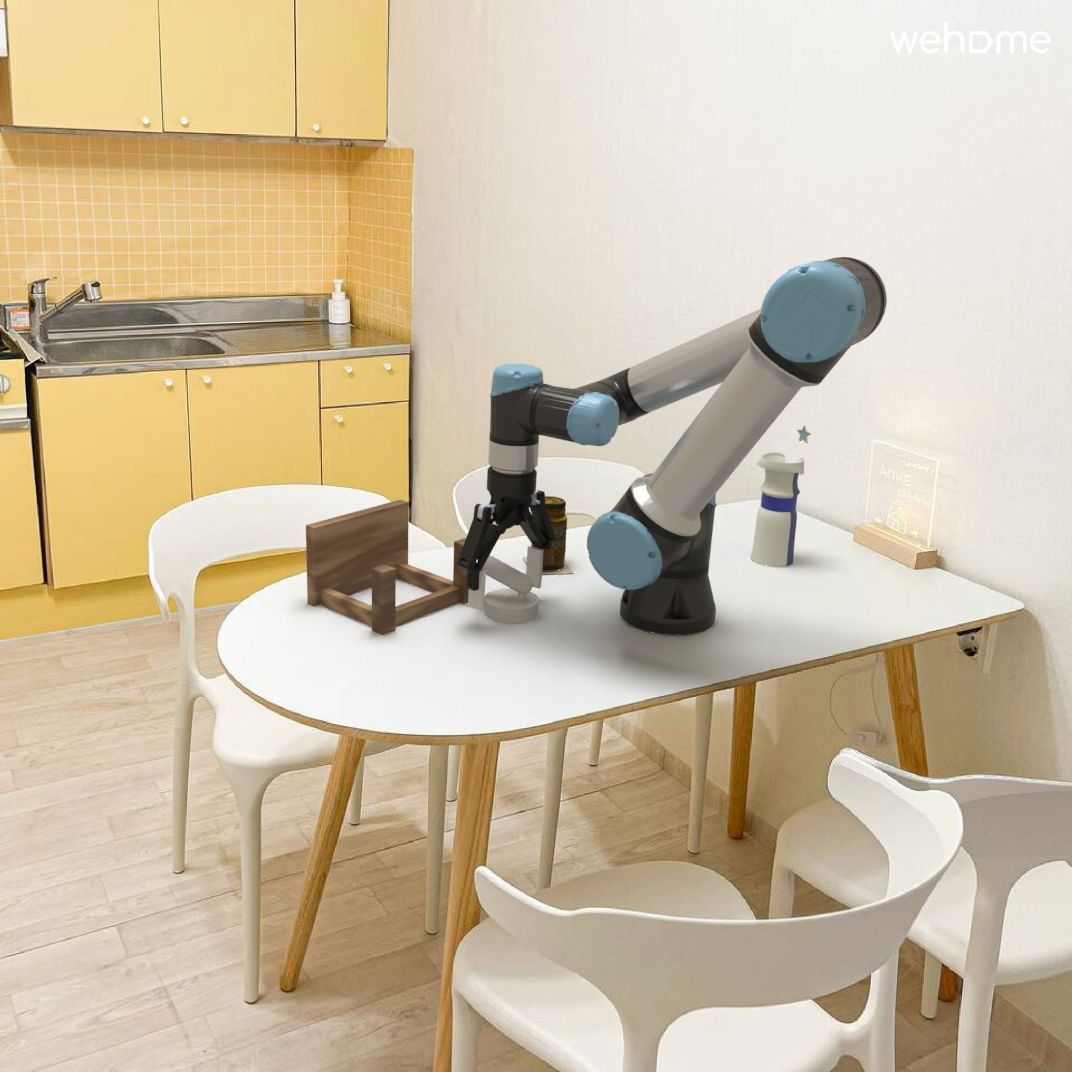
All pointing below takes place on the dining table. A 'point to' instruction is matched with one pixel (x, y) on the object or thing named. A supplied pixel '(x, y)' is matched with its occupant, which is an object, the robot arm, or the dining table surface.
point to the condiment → (556, 538)
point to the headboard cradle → (374, 568)
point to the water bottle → (777, 509)
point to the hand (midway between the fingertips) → (505, 596)
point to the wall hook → (510, 595)
